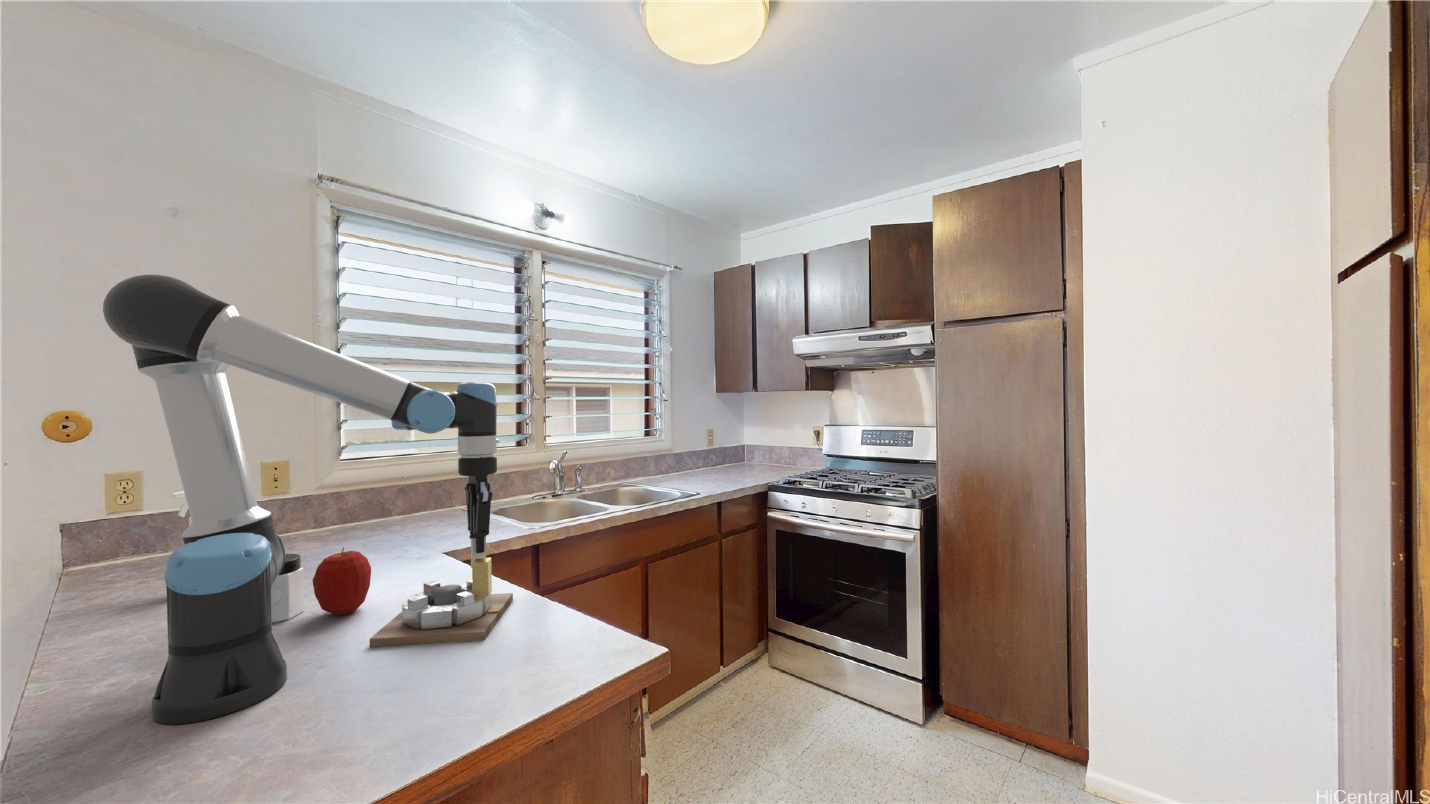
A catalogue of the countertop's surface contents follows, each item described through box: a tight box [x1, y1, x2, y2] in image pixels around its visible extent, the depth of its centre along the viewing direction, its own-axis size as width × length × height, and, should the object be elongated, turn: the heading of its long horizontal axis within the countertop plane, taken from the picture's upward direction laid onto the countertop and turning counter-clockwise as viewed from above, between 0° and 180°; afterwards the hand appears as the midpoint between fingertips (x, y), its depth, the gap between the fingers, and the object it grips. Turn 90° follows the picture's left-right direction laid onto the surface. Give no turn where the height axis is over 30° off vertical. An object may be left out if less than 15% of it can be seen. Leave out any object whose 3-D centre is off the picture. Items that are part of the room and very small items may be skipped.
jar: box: [271, 553, 305, 624], centre depth 112 cm, size 9×8×12 cm
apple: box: [312, 547, 372, 617], centre depth 114 cm, size 10×10×14 cm
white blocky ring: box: [401, 557, 493, 629], centre depth 109 cm, size 16×15×10 cm
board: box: [369, 584, 514, 648], centre depth 109 cm, size 20×20×6 cm
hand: (478, 567), depth 114 cm, fingers closed
